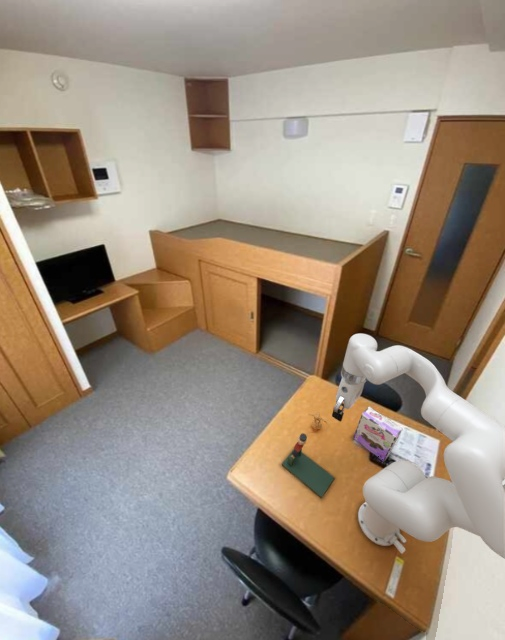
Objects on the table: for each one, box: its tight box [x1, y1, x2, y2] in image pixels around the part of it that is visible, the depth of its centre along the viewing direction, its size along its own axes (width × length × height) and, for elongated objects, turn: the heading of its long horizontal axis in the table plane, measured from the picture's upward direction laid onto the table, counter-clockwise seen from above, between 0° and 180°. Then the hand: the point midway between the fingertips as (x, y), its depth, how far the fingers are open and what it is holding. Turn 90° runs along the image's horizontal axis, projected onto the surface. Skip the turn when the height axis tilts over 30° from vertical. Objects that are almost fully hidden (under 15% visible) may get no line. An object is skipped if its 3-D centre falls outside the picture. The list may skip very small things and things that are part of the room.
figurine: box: [307, 411, 328, 430], centre depth 118 cm, size 8×6×12 cm
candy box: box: [352, 405, 404, 463], centre depth 110 cm, size 14×6×16 cm, turn 42°
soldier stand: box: [281, 448, 335, 499], centre depth 104 cm, size 18×9×6 cm, turn 48°
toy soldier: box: [291, 433, 308, 459], centre depth 102 cm, size 14×4×3 cm
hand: (343, 409), depth 93 cm, fingers open, 9 cm apart
